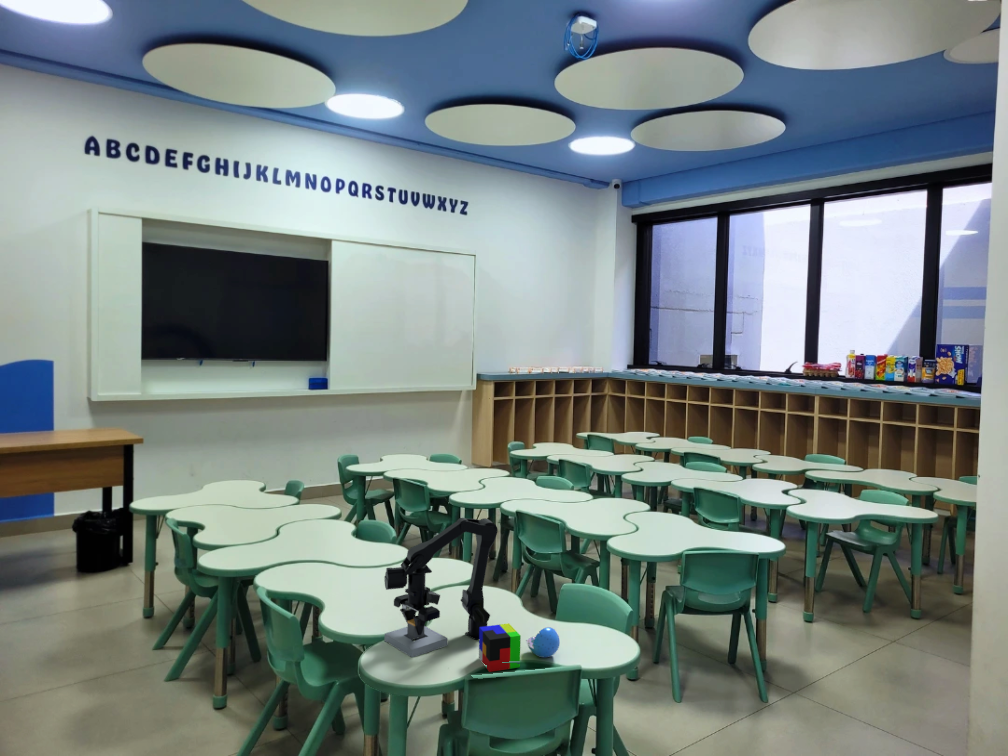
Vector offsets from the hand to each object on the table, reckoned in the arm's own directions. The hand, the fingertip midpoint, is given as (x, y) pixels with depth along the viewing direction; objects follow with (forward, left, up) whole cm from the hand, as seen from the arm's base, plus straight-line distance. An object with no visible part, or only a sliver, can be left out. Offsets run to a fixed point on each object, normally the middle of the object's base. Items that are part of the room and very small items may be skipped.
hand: (416, 632), depth 232 cm
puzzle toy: (-28, -12, -4) cm, 31 cm away
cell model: (-33, -26, -4) cm, 42 cm away
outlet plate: (0, 0, -4) cm, 4 cm away
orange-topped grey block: (0, 0, -1) cm, 1 cm away
